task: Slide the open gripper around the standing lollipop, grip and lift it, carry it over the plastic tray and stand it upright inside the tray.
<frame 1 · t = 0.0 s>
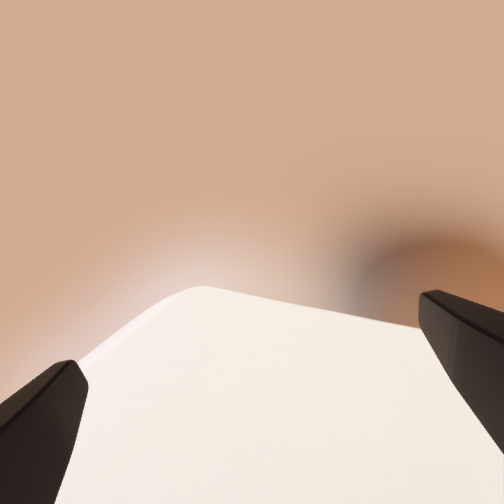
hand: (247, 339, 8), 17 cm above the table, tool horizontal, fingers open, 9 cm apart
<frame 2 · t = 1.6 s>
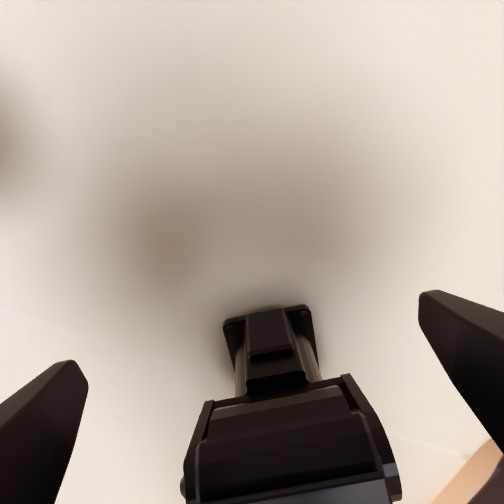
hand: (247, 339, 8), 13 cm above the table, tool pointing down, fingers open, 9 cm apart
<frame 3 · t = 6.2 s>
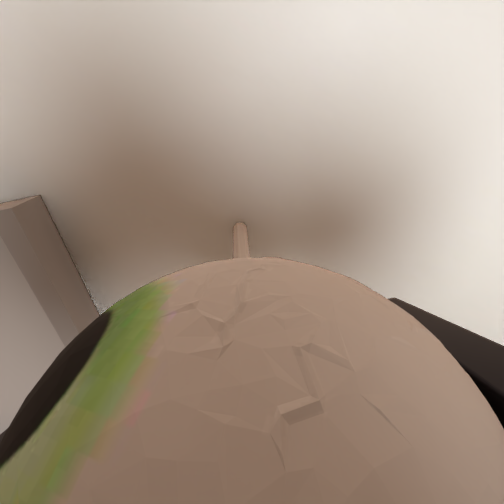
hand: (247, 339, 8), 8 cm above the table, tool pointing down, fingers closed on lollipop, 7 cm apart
lollipop: (240, 227, 15), on the table, touching gripper
when the fingers open (9 cm above the table, at t = 10.8 s): lollipop stays where it is, resting on tray.
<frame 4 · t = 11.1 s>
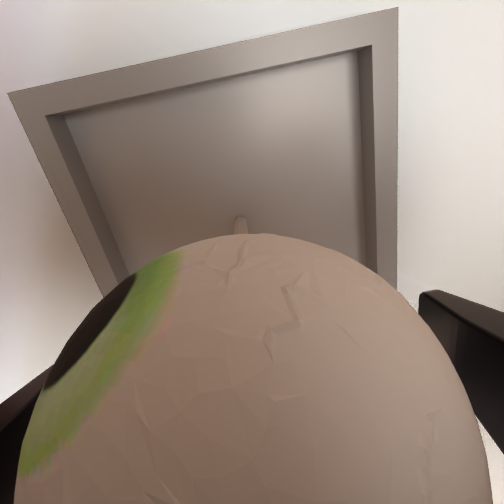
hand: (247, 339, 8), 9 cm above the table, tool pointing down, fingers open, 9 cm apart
tray: (239, 219, 17), on the table
lollipop: (240, 221, 16), resting on tray
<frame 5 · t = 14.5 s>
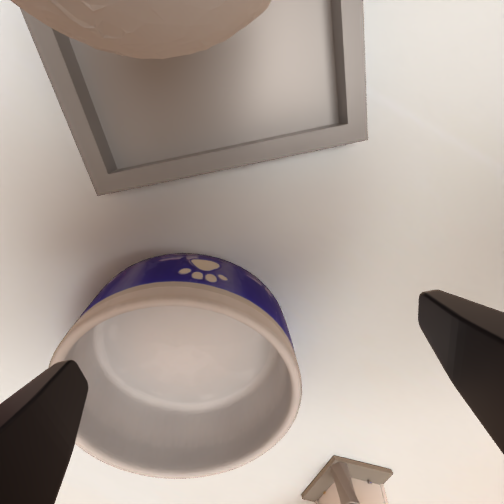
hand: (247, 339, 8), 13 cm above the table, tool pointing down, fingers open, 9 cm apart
tray: (198, 11, 16), on the table
skyscraper: (348, 484, 34), on the table
dog bowl: (191, 337, 25), on the table
lollipop: (199, 8, 15), resting on tray
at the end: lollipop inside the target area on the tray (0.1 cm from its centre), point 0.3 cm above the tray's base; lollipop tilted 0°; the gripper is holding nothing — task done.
